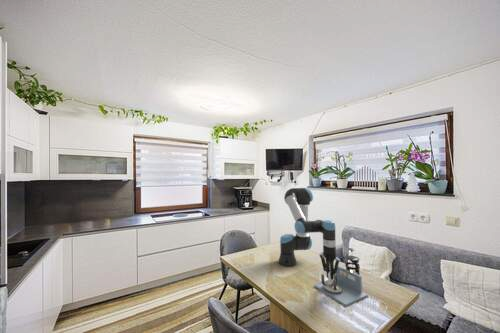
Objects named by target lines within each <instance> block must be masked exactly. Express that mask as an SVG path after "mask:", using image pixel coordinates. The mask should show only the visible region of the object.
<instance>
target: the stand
mask: <svg viewBox="0 0 500 333" xmlns="http://www.w3.org/2000/svg"><path fill="white" fill-rule="evenodd" d="M351 271H352V270H350V271H349V270H346V268H344V267H342V266H340V265H338V269H337V273H336V274H337V282H338V283H340V284H341V285H342V286H343V292H342V293H339V294H334V293H330V292H327V291H326V290H324V288H323V284H322V281H321V282H318V283H315V284H314V285H313V287H314V288H316V289H317V290H318V291H320V292H322V293H323V294H326V295H327V296H329V297H330V298H331V299H333V300H335V301H336V302H338V303H339V304H340V305H343V306H344V307H349V306H350V305H354V304H355V303H357V302H360V301H361V300H362V301H363V299H367V298H368V296H369V295H368V294H367V293H365V292H363V287H362V284H363V283H362V276H361V274H360V275H357V274H355V273H353V272H351ZM333 280H334V279H333ZM333 280H332V281H333ZM326 281H328V279H327V280H326Z"/></svg>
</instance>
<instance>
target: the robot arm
mask: <svg viewBox="0 0 500 333" xmlns="http://www.w3.org/2000/svg"><path fill="white" fill-rule="evenodd" d="M283 199H284V202H285V204H286V205H287V206H288V208H289V210H290V213H291V215H292V216H293V219H294V221H295V223H294V231H295V235H294V234H292V233H289V234H288V233H286V234H282V235H281V236H280V241H279V243H280V247H279V248H280V255H279V258H278V264H279V265H281V266H283V267H295V266H296V265H297V257H296V256H295V251H307V250H310V249H311V248H312V245H313V240H312V237H311V235H310V233H314V234H315V233H321V234H322V250H323V252H322V253H321V254H319V258H320V260H321V264H322V269H323V271H324V272H326V278H327V280H328V284H329V285H331V284H332V280H333V279H334V274H336V273H337V269H338V266H340V265H339V264H340V262H341V259H340V258H339V257H338V256H337V249H336V248H337V247H336V245H337V244H336V242H337V241H336V223H335V221H333V220H328V219H327V220H326V219H324V220H322V219H316V220H310V221H309V206H310V205H311V203H312V202H313V200H314V196H313V192H312V190H311V189H310V188H308V187H292V188H289V189H288V190H286V192H285V193H284V198H283ZM334 262H335V263H334Z"/></svg>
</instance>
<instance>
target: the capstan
mask: <svg viewBox="0 0 500 333" xmlns="http://www.w3.org/2000/svg"><path fill="white" fill-rule="evenodd" d="M321 282H322V284H323V288H324V290H326V291H327V292H330V293H334V294H339V293H342V292H343V286H342V285H341V284H340V283H338V282H337V274H334V280H333V281H332V284H331V285H329V284H328V281H327V280H325V274H324V273H322V274H321Z"/></svg>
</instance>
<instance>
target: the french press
mask: <svg viewBox="0 0 500 333" xmlns="http://www.w3.org/2000/svg"><path fill="white" fill-rule="evenodd" d="M348 250H349V251H350V252H351V253H353V251H356V249H355V248H348ZM344 258H345V261H347V260H349V262H345V269H346V270H349V271H351V272H353V273H355V274H357V275H360V276H361V274H360V269H361V266H360V262H359V261H360V257H358V256H355V255H345V257H344ZM349 265H351V266H349ZM353 266H354V267H353Z"/></svg>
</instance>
